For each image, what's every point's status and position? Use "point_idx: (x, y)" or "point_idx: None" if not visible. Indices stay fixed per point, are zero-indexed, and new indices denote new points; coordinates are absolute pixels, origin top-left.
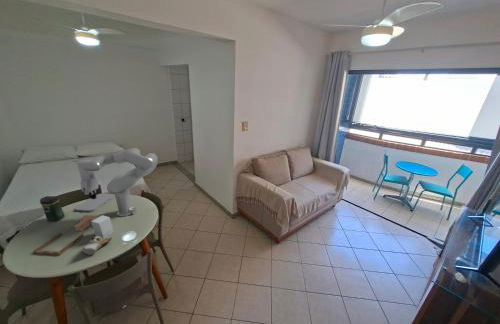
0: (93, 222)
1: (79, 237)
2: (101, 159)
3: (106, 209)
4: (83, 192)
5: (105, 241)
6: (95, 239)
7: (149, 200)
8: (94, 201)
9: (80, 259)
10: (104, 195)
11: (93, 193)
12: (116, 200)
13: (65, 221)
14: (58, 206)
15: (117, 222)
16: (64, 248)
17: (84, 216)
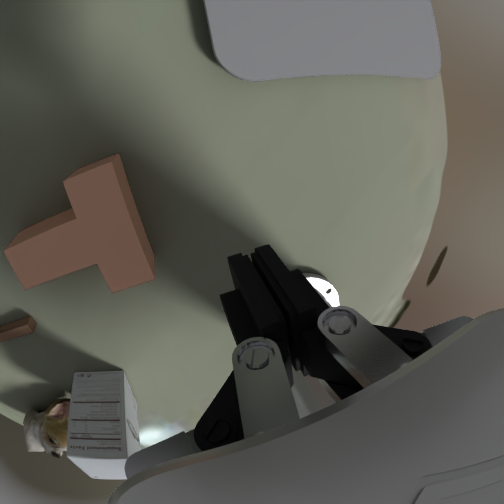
0: (74, 462)
1: (17, 336)
2: None
3: (286, 160)
4: (130, 485)
5: None
6: (61, 455)
7: (397, 309)
8: None
9: (16, 407)
10: (417, 10)
11: (306, 364)
12: (301, 405)
13: (51, 28)
14: None
15: (192, 360)
16: None
17: (95, 180)
